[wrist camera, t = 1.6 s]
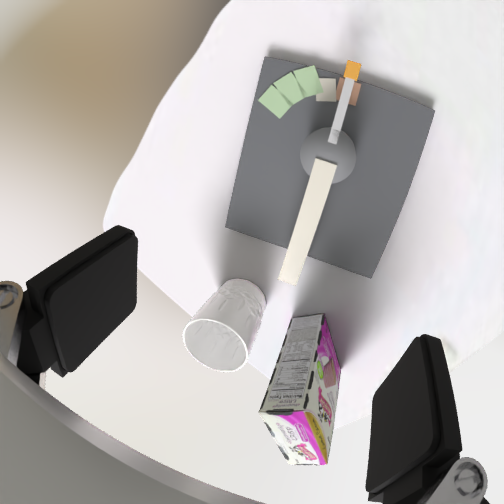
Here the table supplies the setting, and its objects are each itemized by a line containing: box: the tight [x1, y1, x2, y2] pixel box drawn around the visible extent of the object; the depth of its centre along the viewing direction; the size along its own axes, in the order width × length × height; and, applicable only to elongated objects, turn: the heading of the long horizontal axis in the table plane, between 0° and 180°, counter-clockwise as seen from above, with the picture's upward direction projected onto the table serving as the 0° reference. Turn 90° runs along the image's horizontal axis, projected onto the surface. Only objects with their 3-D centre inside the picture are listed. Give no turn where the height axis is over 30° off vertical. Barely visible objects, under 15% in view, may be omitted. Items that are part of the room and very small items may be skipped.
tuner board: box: [225, 57, 435, 278], centre depth 31 cm, size 20×18×1 cm
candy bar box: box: [259, 313, 341, 465], centre depth 35 cm, size 11×5×16 cm, turn 22°
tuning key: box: [278, 60, 361, 286], centre depth 29 cm, size 22×5×4 cm, turn 167°
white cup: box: [182, 278, 266, 372], centre depth 38 cm, size 8×8×10 cm
